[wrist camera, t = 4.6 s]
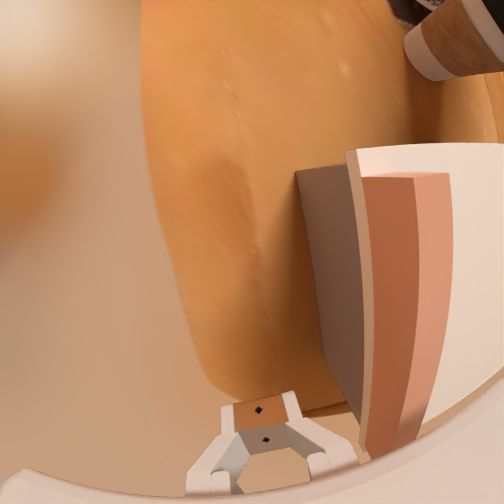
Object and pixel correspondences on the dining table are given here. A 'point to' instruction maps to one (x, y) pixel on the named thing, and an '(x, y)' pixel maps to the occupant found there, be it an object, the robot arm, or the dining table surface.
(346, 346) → the storage box
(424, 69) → the coffee cup
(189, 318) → the dining table surface
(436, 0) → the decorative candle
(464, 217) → the lid
